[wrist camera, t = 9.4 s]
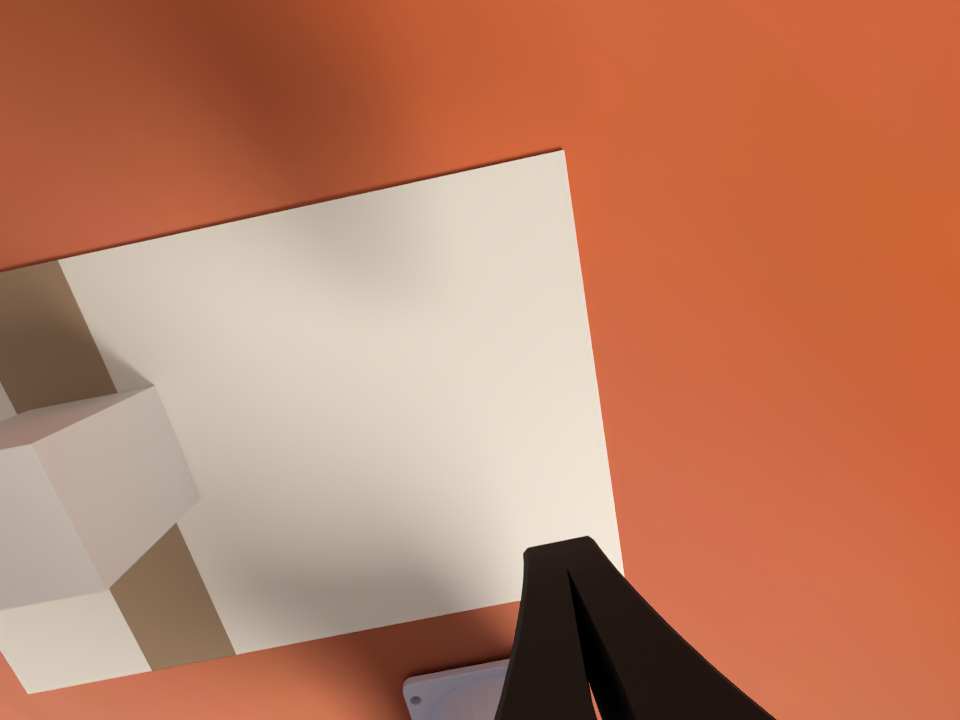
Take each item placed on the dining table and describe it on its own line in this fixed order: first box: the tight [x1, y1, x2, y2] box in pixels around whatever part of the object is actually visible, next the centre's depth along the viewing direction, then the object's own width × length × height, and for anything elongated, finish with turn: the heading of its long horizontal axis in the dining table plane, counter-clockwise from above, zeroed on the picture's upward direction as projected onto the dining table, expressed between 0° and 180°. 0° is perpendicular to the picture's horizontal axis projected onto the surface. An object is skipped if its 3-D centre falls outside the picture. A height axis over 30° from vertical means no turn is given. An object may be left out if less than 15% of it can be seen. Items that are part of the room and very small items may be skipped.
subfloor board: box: [0, 150, 625, 694], centre depth 18 cm, size 18×28×1 cm, turn 102°
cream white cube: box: [0, 386, 201, 610], centre depth 15 cm, size 5×5×5 cm
